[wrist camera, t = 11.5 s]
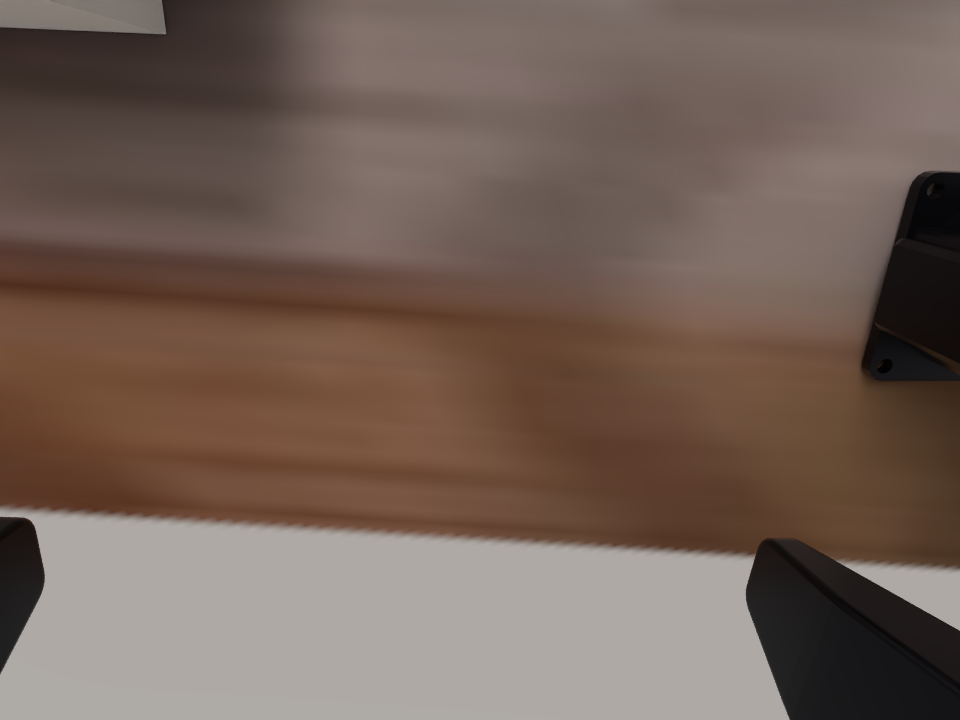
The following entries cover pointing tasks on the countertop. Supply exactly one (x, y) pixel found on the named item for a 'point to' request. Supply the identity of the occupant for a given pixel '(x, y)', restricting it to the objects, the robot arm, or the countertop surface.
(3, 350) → the countertop surface
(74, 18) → the enclosure
